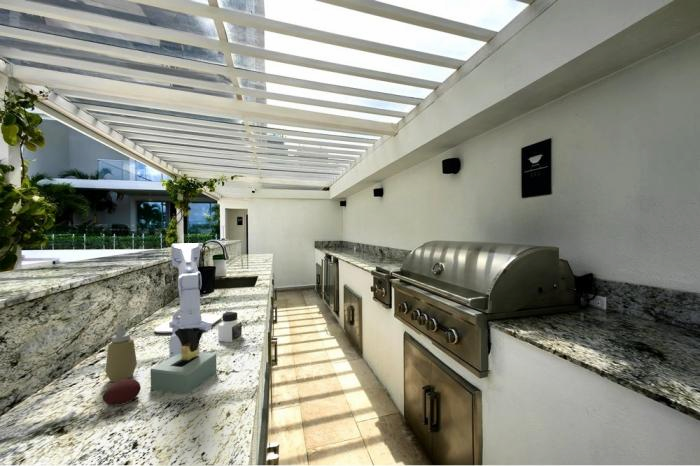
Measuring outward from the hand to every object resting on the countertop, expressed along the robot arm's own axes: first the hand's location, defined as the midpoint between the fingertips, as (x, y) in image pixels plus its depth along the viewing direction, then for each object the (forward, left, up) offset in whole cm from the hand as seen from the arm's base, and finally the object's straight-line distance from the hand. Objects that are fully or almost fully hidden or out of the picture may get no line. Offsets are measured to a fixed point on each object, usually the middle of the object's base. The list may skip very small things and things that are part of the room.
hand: (190, 350), depth 91 cm
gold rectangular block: (0, 0, -2) cm, 2 cm away
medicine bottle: (-8, +31, -10) cm, 34 cm away
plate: (-39, +42, -10) cm, 58 cm away
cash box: (-1, -2, -9) cm, 9 cm away
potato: (-10, -15, -10) cm, 20 cm away
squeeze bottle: (-23, -5, -10) cm, 25 cm away
